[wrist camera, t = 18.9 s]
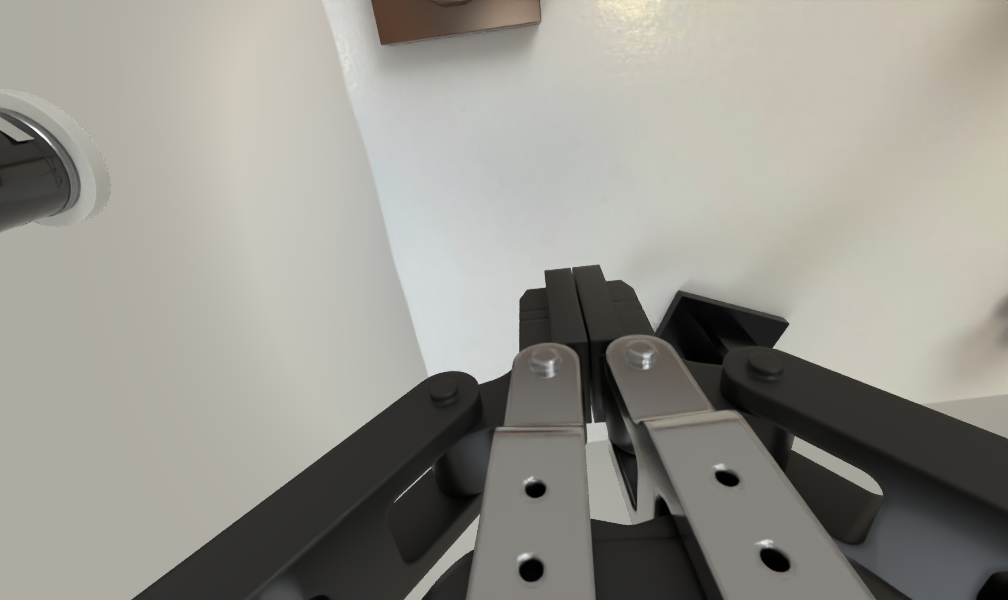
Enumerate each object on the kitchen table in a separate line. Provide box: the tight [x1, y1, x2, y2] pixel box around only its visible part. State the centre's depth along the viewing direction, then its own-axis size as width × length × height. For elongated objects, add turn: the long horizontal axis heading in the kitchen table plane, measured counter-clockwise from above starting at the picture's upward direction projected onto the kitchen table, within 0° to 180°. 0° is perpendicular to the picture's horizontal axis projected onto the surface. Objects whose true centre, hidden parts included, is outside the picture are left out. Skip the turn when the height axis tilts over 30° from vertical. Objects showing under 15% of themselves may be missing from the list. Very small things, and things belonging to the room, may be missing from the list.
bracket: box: [655, 291, 789, 365], centre depth 41 cm, size 12×9×14 cm
